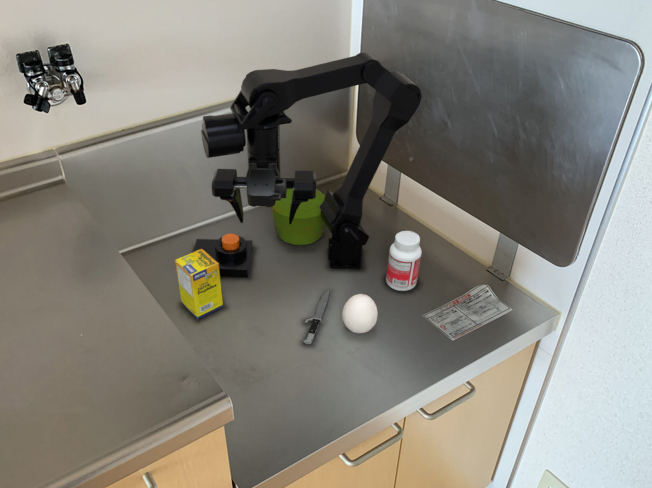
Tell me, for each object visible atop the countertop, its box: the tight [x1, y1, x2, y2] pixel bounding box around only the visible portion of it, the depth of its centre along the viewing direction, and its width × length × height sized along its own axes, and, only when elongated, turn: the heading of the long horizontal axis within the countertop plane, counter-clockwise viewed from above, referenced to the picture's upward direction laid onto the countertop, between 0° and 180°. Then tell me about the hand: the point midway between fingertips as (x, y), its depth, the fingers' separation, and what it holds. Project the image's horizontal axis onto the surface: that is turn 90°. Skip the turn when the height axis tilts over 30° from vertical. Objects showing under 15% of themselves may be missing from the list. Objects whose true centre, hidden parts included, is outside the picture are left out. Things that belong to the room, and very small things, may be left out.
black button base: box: [192, 235, 254, 279], centre depth 127 cm, size 12×10×4 cm
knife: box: [303, 289, 330, 345], centre depth 115 cm, size 15×1×3 cm
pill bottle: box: [385, 230, 423, 292], centre depth 120 cm, size 6×6×11 cm
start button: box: [221, 233, 240, 250], centre depth 126 cm, size 4×4×2 cm
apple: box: [270, 188, 326, 246], centre depth 132 cm, size 12×12×11 cm
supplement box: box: [174, 249, 224, 321], centre depth 115 cm, size 6×6×11 cm
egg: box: [341, 293, 379, 334], centre depth 111 cm, size 6×6×8 cm
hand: (266, 222), depth 117 cm, fingers open, 9 cm apart
